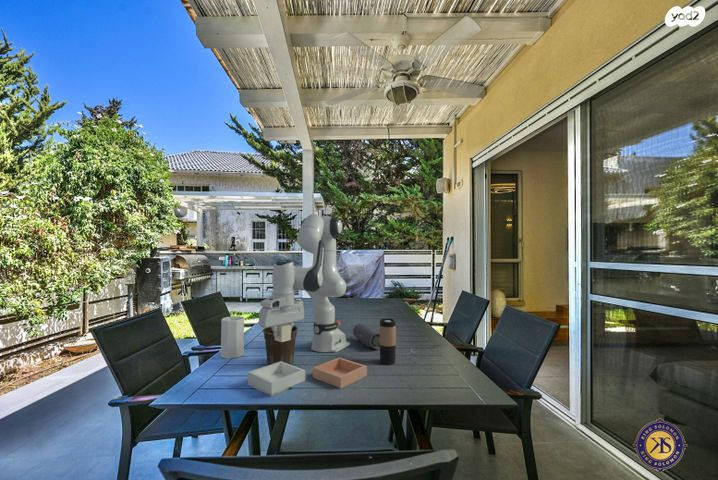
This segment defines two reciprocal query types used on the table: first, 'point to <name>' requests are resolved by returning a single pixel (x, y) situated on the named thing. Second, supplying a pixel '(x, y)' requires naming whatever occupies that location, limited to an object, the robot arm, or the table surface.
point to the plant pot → (279, 347)
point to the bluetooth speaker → (367, 336)
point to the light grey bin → (275, 378)
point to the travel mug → (387, 341)
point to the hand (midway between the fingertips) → (282, 334)
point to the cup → (232, 337)
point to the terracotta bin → (339, 372)
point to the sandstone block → (283, 333)
